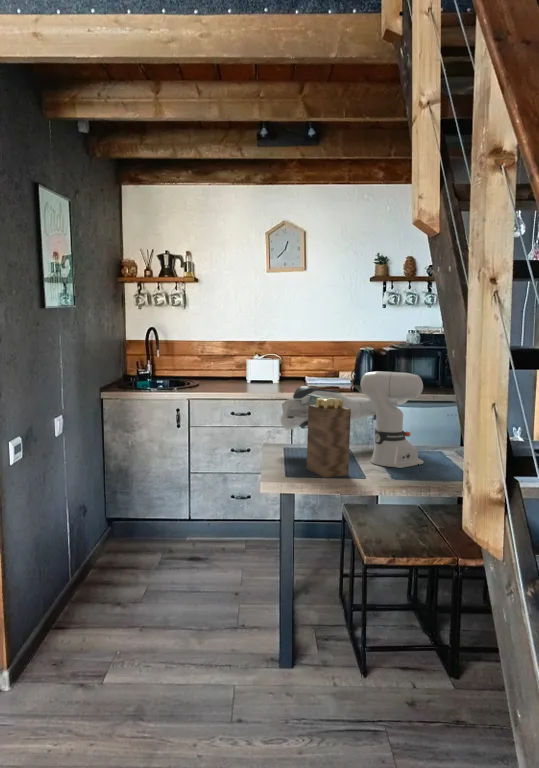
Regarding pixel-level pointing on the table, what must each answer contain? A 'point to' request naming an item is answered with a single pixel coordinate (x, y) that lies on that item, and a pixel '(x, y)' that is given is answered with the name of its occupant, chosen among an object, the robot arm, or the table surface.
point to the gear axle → (326, 402)
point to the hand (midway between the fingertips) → (314, 397)
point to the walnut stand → (328, 441)
